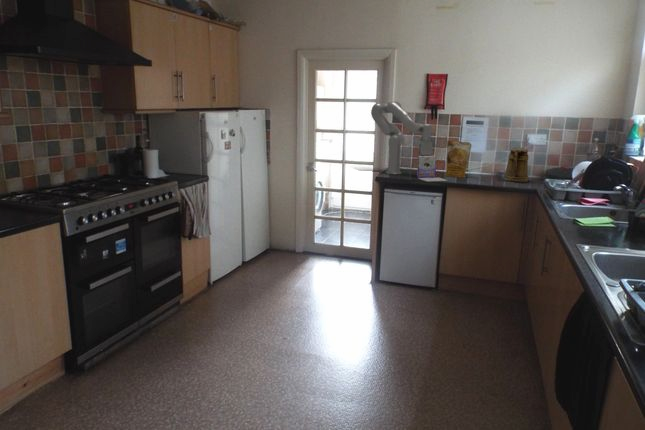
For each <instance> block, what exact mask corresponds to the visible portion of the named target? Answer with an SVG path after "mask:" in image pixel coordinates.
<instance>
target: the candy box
mask: <svg viewBox="0 0 645 430" xmlns="http://www.w3.org/2000/svg"><path fill="white" fill-rule="evenodd" d="M416 165H417V166H416V167H417V171H416V172H417V174H416V177H417V178H437V177H436V174H437V173H436V171H437V156H436V155H431V156H417V164H416Z"/></svg>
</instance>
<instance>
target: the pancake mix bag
mask: <svg viewBox="0 0 645 430" xmlns="http://www.w3.org/2000/svg"><path fill="white" fill-rule="evenodd" d="M471 149H472V143H471V142H469V141H458V140H447V142H446V171H445V176H447V177H450V178H457V179H463V178H466V171H467V166H468V164H469V158H470V156H471V155H470V154H471Z"/></svg>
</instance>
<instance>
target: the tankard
mask: <svg viewBox="0 0 645 430" xmlns="http://www.w3.org/2000/svg"><path fill="white" fill-rule="evenodd" d="M528 152H529V150H528V149H527V148H525V147H524V148H523V147H513V148H511V149H510V152H509V155H508V162H507V165H506V170H505V174H504V175H503V181H506V182H512V183H527V182H528V181H529V178H530V177H529V174H528V171H529V169H528V164H529V163H528V161H529V154H528Z"/></svg>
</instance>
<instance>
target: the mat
mask: <svg viewBox="0 0 645 430" xmlns="http://www.w3.org/2000/svg"><path fill="white" fill-rule="evenodd" d="M417 178H418V177H417ZM418 180H421V181H423V182H429V183H430V182H431V183H432V182H448V181H449V180H448V179H446V178H443V177H442V178H441V177H425V178H418Z"/></svg>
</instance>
